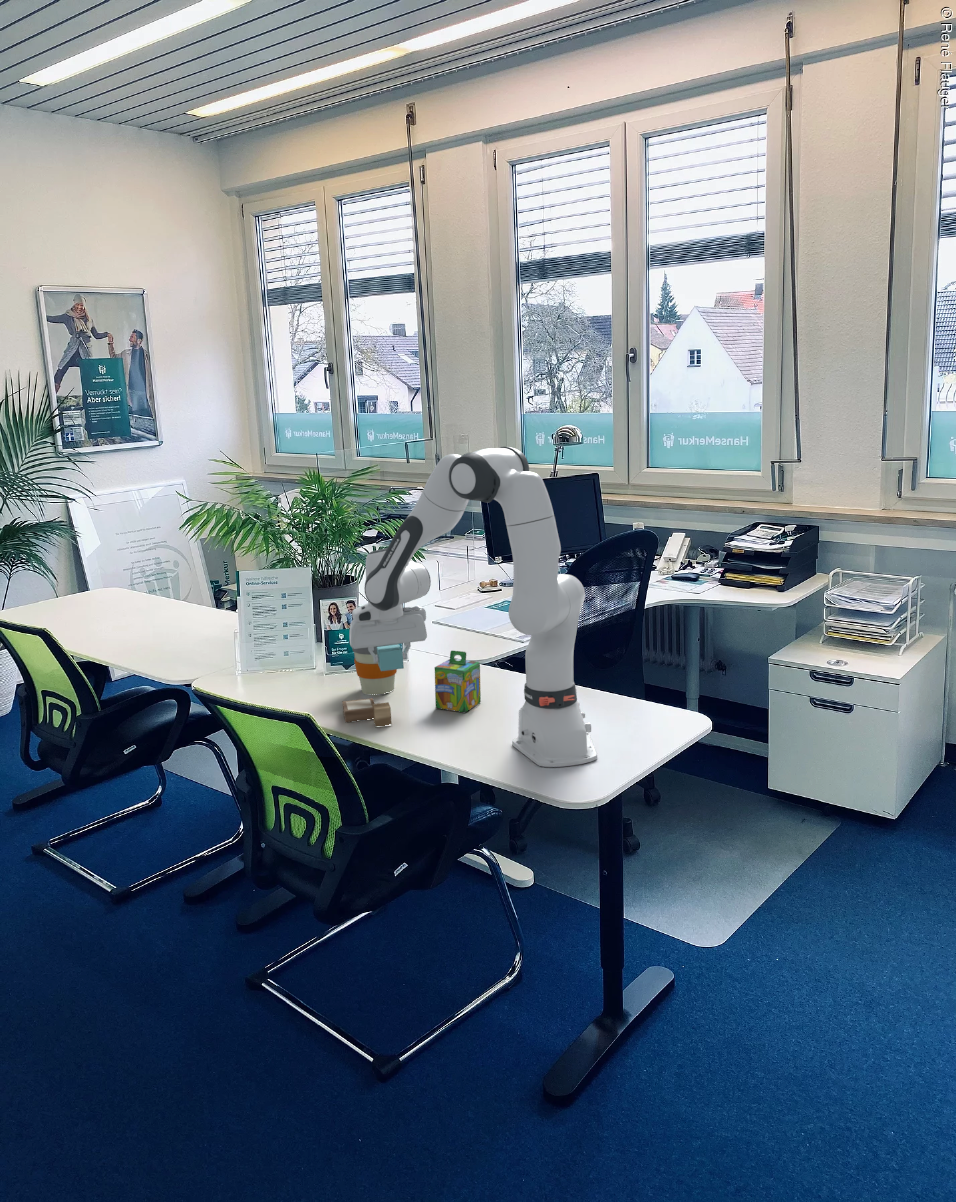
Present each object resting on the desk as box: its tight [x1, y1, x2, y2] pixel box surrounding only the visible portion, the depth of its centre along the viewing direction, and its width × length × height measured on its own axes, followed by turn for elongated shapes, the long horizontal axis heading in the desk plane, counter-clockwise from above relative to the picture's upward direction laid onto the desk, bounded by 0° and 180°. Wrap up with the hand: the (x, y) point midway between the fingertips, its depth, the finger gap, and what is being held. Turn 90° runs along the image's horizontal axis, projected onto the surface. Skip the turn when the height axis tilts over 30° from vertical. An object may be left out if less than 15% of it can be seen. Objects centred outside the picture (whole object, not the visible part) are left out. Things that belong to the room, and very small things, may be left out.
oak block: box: [373, 701, 393, 726], centre depth 241 cm, size 4×4×5 cm
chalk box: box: [434, 650, 482, 713], centre depth 251 cm, size 9×9×15 cm
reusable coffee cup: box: [351, 644, 398, 696], centre depth 266 cm, size 13×13×15 cm
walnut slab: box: [341, 697, 376, 723], centre depth 248 cm, size 8×8×3 cm
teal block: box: [377, 644, 405, 671], centre depth 253 cm, size 6×6×5 cm
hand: (390, 660), depth 253 cm, fingers closed on teal block, 6 cm apart
